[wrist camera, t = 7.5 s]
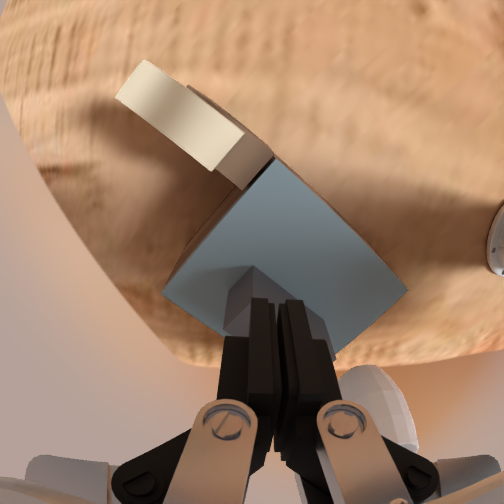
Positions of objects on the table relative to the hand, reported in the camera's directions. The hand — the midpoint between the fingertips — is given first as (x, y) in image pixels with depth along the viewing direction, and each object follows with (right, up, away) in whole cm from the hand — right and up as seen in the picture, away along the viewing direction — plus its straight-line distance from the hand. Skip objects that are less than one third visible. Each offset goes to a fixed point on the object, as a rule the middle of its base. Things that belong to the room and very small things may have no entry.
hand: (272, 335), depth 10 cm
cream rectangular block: (-5, +12, +8) cm, 15 cm away
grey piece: (+2, 0, +15) cm, 15 cm away
